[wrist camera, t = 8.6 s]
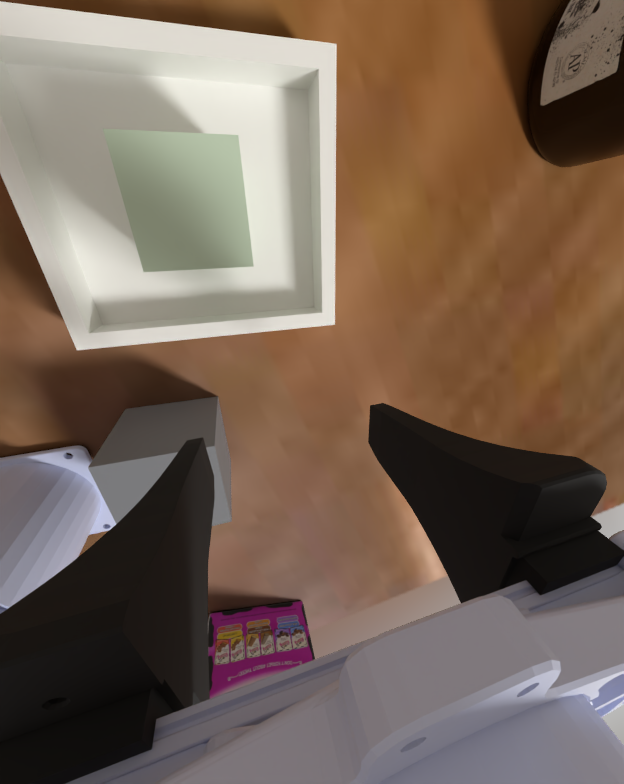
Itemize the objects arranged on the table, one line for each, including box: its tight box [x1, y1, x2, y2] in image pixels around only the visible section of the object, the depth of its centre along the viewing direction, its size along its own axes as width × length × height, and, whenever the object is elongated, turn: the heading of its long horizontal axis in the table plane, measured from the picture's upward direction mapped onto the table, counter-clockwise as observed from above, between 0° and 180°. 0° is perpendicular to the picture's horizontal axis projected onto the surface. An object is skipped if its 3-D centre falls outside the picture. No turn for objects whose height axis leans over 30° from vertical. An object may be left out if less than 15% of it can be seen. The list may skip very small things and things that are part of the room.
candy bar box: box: [208, 601, 315, 699], centre depth 27 cm, size 11×5×16 cm, turn 74°
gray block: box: [88, 396, 232, 526], centre depth 19 cm, size 6×6×6 cm
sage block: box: [103, 129, 254, 272], centre depth 13 cm, size 4×4×4 cm
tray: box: [0, 1, 336, 350], centre depth 14 cm, size 14×12×2 cm
